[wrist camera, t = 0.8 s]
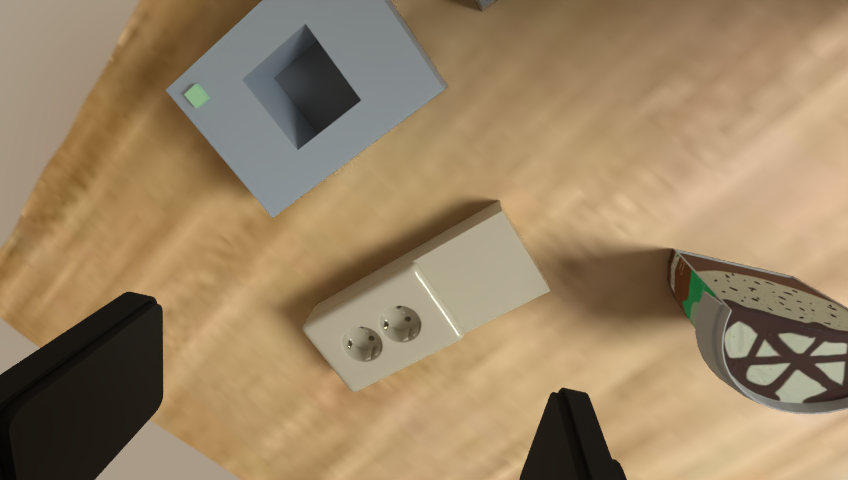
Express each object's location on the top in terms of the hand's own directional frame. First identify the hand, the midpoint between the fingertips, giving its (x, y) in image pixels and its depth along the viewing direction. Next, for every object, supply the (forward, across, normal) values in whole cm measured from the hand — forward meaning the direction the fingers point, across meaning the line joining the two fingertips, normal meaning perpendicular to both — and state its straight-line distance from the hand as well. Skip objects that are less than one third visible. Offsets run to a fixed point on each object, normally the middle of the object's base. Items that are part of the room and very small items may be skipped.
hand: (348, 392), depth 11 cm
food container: (+26, -24, +5) cm, 35 cm away
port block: (+25, +8, -4) cm, 27 cm away
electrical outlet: (+26, -2, +10) cm, 28 cm away
